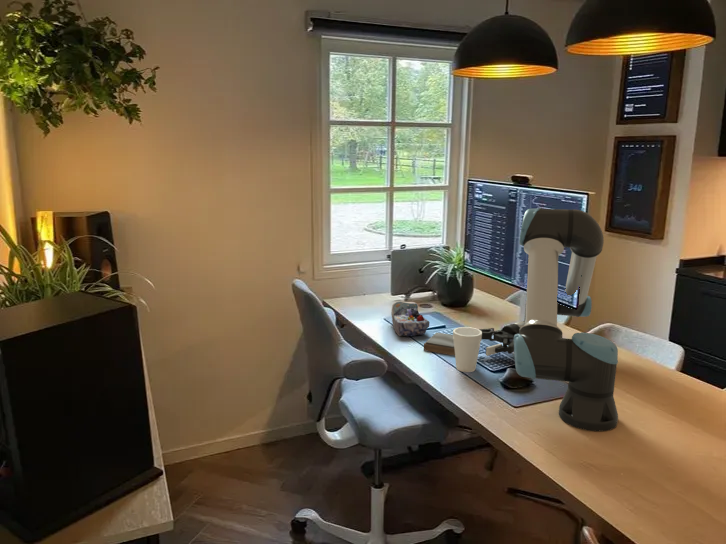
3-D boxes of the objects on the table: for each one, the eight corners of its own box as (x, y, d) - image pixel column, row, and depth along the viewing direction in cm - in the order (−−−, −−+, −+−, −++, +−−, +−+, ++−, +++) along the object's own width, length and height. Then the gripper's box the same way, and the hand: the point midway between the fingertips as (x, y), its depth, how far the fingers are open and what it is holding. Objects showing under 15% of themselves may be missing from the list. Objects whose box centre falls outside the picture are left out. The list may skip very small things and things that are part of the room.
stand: (458, 356, 203) (458, 348, 202) (423, 350, 208) (423, 342, 208) (468, 344, 214) (469, 337, 213) (435, 339, 220) (435, 331, 219)
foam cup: (479, 375, 187) (481, 337, 184) (451, 372, 188) (452, 335, 185) (480, 364, 196) (481, 327, 193) (452, 362, 197) (454, 326, 194)
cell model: (414, 296, 238) (432, 311, 219) (413, 321, 241) (431, 338, 222) (384, 298, 235) (400, 314, 216) (383, 323, 237) (399, 341, 219)
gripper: (543, 354, 195) (499, 368, 183) (489, 334, 215) (446, 344, 203) (545, 333, 193) (500, 345, 181) (490, 314, 213) (447, 324, 202)
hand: (472, 345), depth 192 cm, fingers open, 13 cm apart
